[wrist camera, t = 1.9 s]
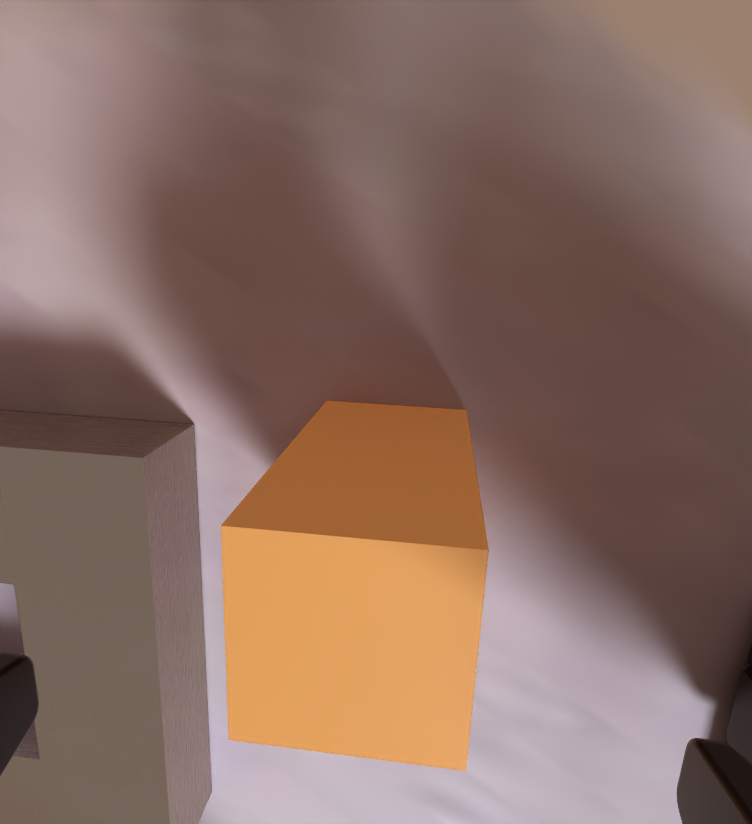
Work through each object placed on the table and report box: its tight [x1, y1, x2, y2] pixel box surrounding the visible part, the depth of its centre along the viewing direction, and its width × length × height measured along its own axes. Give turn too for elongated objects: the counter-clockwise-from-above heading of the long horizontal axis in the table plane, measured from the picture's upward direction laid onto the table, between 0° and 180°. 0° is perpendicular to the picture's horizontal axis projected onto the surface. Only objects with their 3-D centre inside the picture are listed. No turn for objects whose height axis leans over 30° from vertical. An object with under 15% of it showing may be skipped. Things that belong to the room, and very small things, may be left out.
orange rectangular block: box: [221, 400, 489, 771], centre depth 13 cm, size 4×4×8 cm
